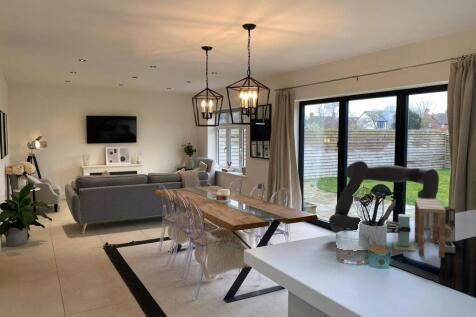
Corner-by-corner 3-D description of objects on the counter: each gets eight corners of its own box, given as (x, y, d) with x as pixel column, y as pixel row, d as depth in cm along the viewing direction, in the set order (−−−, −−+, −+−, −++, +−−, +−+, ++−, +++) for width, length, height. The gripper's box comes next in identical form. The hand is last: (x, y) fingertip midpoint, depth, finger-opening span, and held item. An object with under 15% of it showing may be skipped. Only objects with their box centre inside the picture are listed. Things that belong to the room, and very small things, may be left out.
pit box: (441, 246, 169) (441, 240, 169) (451, 247, 167) (451, 241, 167) (444, 252, 160) (444, 246, 160) (455, 253, 159) (455, 247, 159)
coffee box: (449, 237, 182) (449, 206, 181) (455, 241, 176) (456, 208, 175) (430, 237, 183) (430, 206, 182) (435, 241, 177) (436, 209, 176)
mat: (393, 241, 178) (393, 241, 178) (413, 243, 175) (413, 242, 175) (393, 249, 167) (393, 248, 167) (415, 251, 164) (415, 250, 164)
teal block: (398, 242, 174) (398, 214, 173) (408, 243, 172) (408, 214, 171) (398, 245, 169) (398, 216, 168) (409, 246, 168) (409, 216, 167)
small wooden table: (414, 240, 179) (414, 198, 178) (437, 241, 176) (437, 199, 174) (418, 255, 158) (419, 208, 157) (444, 257, 154) (445, 209, 153)
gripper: (371, 221, 169) (411, 224, 162) (372, 214, 182) (409, 216, 175) (370, 237, 169) (411, 240, 163) (371, 229, 182) (409, 232, 176)
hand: (409, 228), depth 169 cm, fingers closed on teal block, 4 cm apart
